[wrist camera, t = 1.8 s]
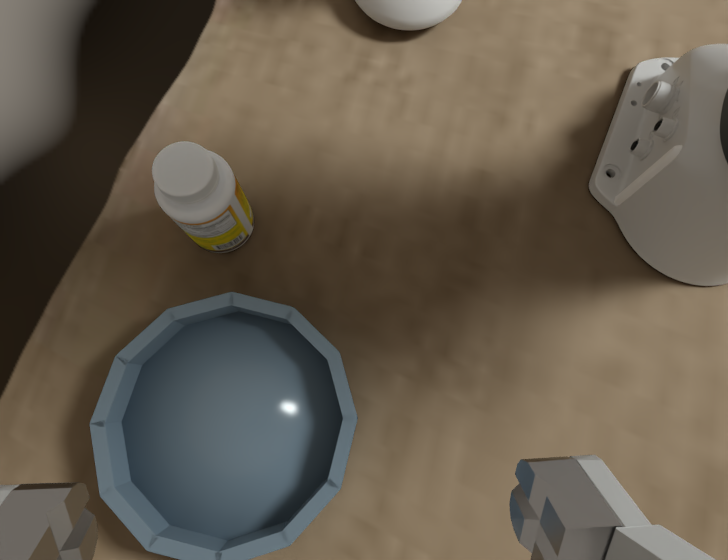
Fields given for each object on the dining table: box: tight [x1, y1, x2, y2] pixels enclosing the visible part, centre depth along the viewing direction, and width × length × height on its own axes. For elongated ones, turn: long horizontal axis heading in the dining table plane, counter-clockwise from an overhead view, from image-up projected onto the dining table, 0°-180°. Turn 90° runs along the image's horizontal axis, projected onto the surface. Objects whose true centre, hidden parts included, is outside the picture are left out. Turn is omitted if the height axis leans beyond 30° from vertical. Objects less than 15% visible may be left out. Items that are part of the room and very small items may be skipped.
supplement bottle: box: [152, 141, 254, 253], centre depth 35 cm, size 6×6×10 cm
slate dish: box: [90, 292, 358, 560], centre depth 34 cm, size 18×18×4 cm
